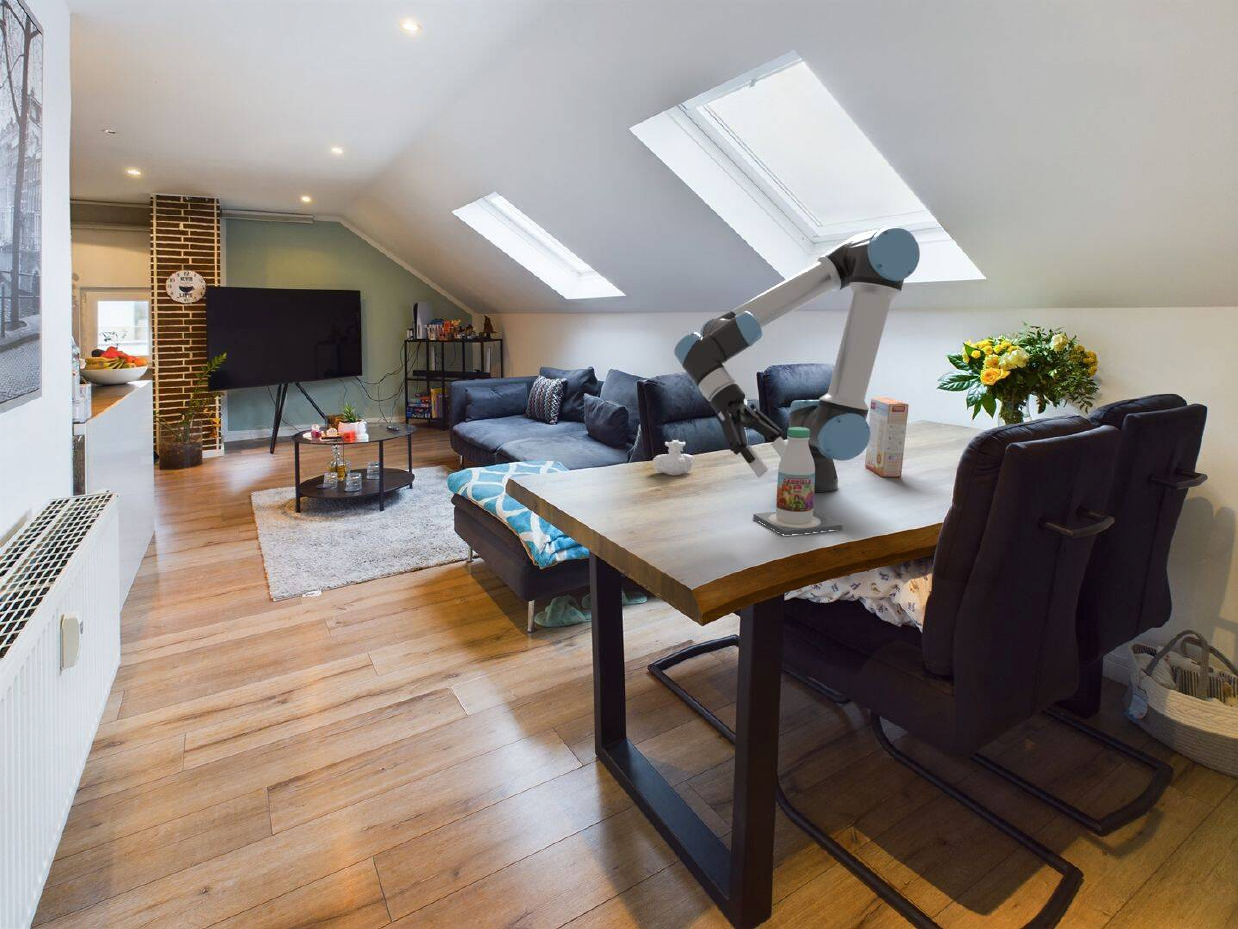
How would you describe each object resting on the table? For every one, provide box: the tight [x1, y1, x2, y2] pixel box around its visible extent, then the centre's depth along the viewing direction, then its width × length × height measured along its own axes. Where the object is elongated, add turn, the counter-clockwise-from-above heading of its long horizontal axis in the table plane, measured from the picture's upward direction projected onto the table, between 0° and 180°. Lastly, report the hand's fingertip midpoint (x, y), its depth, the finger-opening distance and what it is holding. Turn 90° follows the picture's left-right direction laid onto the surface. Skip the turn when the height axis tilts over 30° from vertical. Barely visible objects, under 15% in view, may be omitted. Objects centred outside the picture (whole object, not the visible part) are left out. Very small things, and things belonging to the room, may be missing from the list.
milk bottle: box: [775, 427, 815, 524], centre depth 145 cm, size 8×8×20 cm
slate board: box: [752, 510, 844, 535], centre depth 148 cm, size 14×13×1 cm
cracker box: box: [864, 397, 910, 478], centre depth 195 cm, size 14×6×21 cm, turn 179°
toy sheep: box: [652, 439, 696, 476], centre depth 192 cm, size 12×8×11 cm
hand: (778, 468), depth 147 cm, fingers open, 13 cm apart
